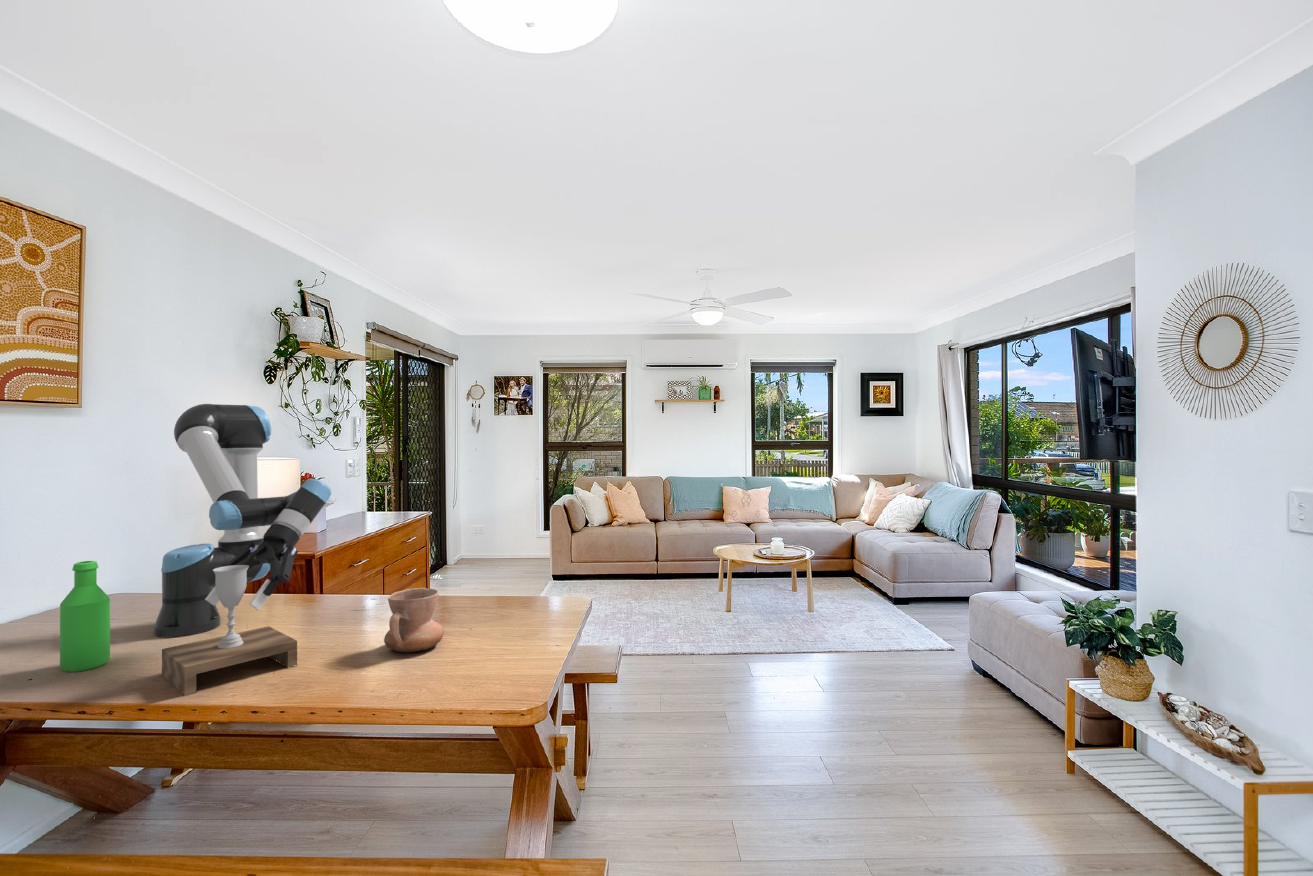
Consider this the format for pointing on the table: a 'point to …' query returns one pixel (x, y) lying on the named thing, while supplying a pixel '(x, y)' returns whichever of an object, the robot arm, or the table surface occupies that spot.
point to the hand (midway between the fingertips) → (231, 604)
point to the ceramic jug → (413, 620)
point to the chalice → (230, 597)
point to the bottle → (84, 622)
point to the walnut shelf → (224, 655)
